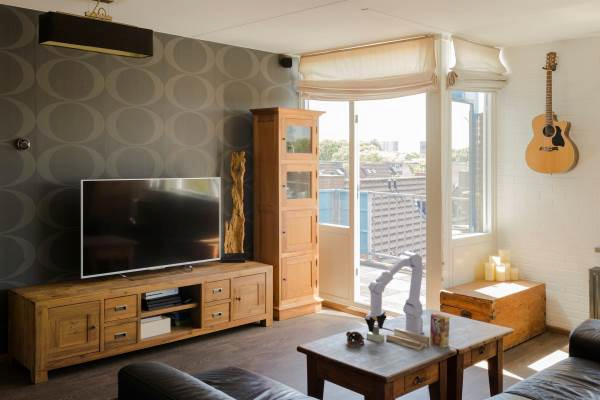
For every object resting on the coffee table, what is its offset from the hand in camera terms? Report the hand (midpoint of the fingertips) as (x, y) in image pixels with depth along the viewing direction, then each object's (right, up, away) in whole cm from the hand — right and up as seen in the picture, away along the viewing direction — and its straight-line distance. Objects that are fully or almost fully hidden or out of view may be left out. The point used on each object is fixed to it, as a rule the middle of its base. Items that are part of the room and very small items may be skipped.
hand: (375, 330), depth 300 cm
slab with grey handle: (0, -5, 0) cm, 5 cm away
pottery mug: (-12, -6, -9) cm, 16 cm away
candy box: (+31, -6, -8) cm, 33 cm away
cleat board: (+16, -5, -5) cm, 17 cm away
